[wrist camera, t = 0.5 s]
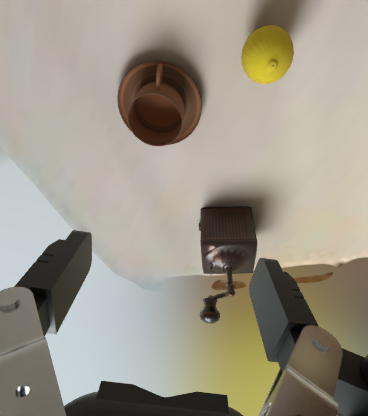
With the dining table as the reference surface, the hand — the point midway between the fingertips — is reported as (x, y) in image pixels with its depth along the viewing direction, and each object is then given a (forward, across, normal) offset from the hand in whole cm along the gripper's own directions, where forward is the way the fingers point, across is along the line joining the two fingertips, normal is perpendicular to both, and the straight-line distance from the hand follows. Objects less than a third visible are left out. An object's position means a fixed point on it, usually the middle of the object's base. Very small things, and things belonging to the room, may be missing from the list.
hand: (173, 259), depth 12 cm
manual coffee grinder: (+39, -12, +21) cm, 46 cm away
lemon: (+28, -8, -13) cm, 32 cm away
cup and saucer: (+31, +4, -4) cm, 32 cm away
